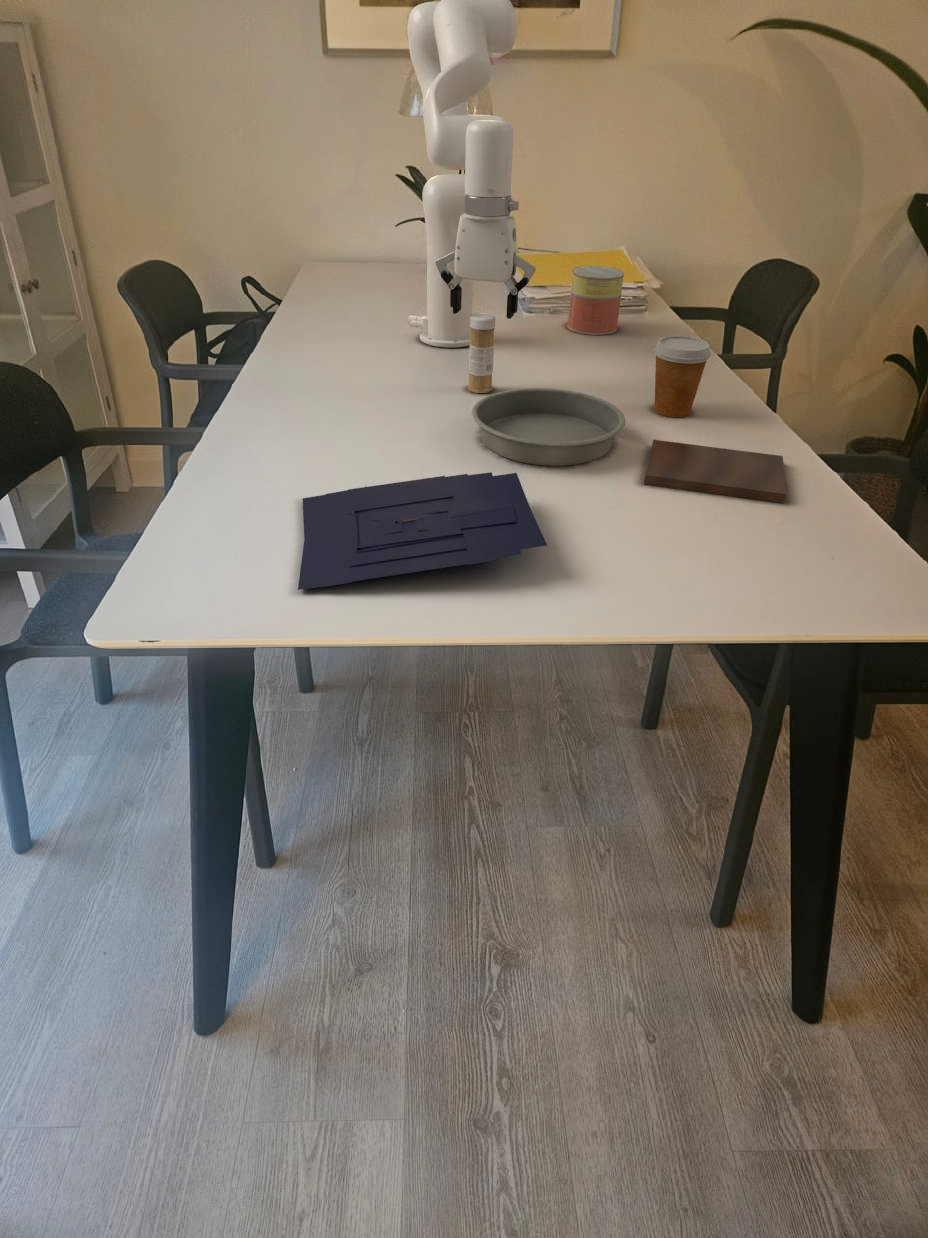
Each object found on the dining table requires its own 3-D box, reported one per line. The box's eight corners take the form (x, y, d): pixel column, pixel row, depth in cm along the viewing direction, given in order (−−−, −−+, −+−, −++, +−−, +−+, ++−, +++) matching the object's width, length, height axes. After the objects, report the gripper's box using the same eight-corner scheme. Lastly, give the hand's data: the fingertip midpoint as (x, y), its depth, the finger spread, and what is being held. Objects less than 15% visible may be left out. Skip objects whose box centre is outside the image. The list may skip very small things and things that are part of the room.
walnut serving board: (643, 484, 127) (645, 474, 126) (651, 448, 138) (653, 439, 137) (783, 503, 123) (786, 494, 122) (780, 464, 134) (782, 455, 133)
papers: (551, 572, 103) (550, 546, 101) (302, 610, 101) (296, 584, 99) (515, 484, 123) (513, 461, 120) (306, 514, 121) (301, 491, 119)
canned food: (625, 326, 195) (632, 270, 189) (604, 337, 187) (611, 280, 181) (580, 317, 200) (586, 263, 193) (558, 328, 192) (563, 272, 185)
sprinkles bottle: (481, 383, 161) (484, 310, 153) (497, 390, 158) (501, 316, 150) (462, 388, 158) (464, 314, 151) (478, 395, 156) (481, 320, 148)
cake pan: (633, 424, 146) (637, 398, 144) (605, 482, 127) (609, 453, 125) (496, 403, 153) (497, 378, 150) (449, 455, 133) (450, 428, 131)
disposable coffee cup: (704, 407, 154) (717, 339, 147) (692, 424, 147) (705, 354, 140) (652, 397, 157) (662, 331, 150) (638, 414, 150) (649, 345, 143)
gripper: (543, 207, 142) (535, 313, 151) (443, 200, 145) (442, 305, 155) (534, 213, 136) (527, 324, 145) (430, 206, 139) (430, 315, 149)
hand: (483, 314), depth 150 cm, fingers open, 9 cm apart
